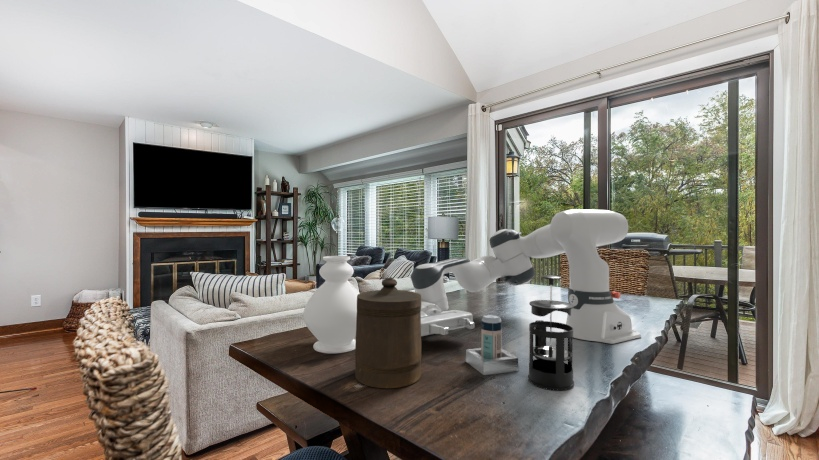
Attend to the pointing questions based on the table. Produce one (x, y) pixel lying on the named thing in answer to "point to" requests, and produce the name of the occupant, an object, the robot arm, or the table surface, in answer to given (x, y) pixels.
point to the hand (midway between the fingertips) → (459, 328)
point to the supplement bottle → (491, 336)
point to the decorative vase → (333, 308)
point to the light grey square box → (492, 362)
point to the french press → (549, 359)
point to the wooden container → (388, 337)
